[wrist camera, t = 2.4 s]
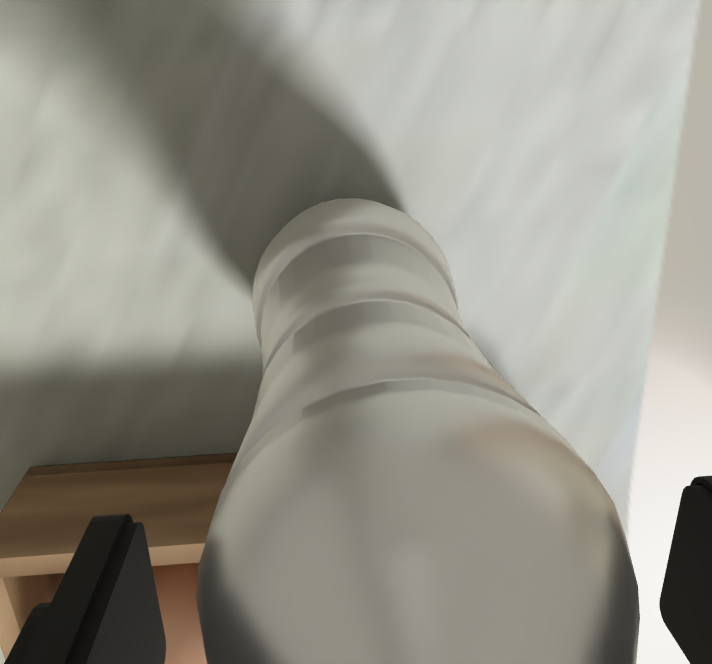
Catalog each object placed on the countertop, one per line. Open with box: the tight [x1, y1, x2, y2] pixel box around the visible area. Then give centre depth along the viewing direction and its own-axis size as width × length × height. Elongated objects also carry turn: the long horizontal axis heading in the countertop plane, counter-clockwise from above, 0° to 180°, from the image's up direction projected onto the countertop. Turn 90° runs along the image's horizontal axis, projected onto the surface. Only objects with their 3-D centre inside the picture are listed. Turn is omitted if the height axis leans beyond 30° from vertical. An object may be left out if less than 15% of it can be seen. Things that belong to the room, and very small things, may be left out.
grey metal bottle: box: [196, 198, 640, 664], centre depth 14 cm, size 6×7×20 cm
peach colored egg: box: [152, 563, 207, 664], centre depth 24 cm, size 6×6×7 cm
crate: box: [0, 453, 238, 660], centre depth 26 cm, size 12×20×5 cm, turn 91°
